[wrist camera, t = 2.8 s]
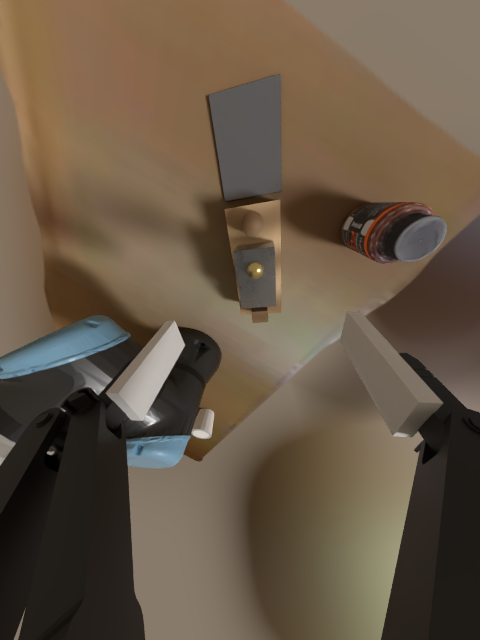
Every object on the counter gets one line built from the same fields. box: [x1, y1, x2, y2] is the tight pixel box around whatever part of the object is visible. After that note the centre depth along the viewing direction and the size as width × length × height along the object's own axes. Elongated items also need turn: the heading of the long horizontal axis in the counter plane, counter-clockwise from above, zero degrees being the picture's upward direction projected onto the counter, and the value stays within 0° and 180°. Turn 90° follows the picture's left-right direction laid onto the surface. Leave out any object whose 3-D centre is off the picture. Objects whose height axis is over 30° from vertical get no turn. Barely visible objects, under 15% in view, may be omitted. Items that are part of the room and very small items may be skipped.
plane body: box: [224, 200, 281, 323], centre depth 26 cm, size 16×7×8 cm, turn 8°
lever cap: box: [233, 241, 276, 308], centre depth 24 cm, size 5×8×4 cm, turn 8°
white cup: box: [191, 409, 214, 439], centre depth 58 cm, size 7×7×7 cm
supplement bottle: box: [341, 202, 447, 264], centre depth 20 cm, size 6×6×11 cm
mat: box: [209, 74, 281, 201], centre depth 21 cm, size 8×10×1 cm
